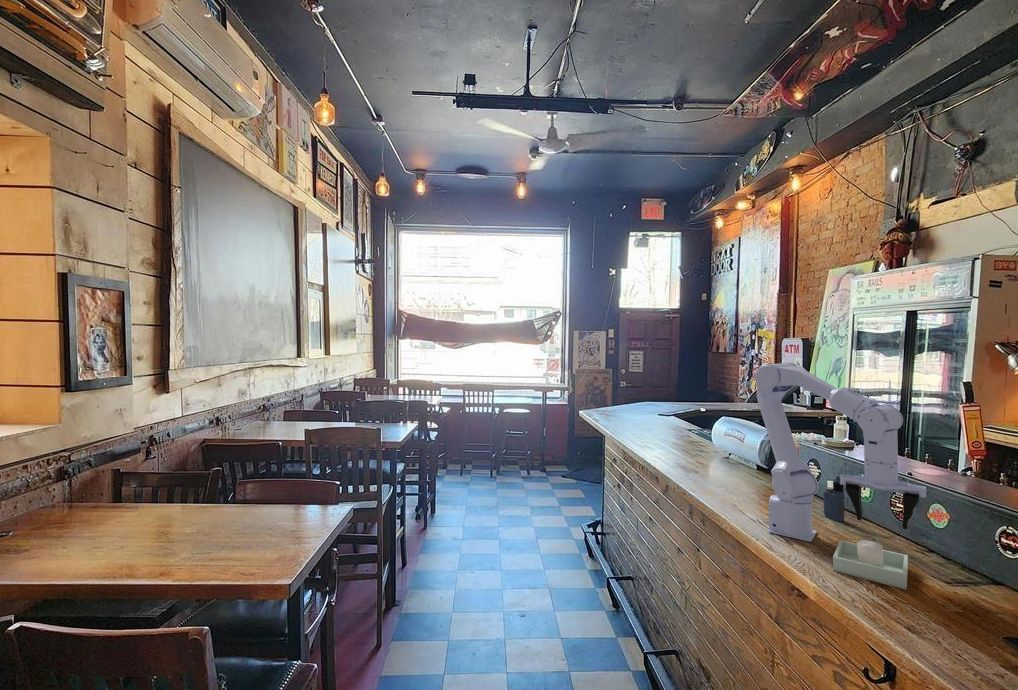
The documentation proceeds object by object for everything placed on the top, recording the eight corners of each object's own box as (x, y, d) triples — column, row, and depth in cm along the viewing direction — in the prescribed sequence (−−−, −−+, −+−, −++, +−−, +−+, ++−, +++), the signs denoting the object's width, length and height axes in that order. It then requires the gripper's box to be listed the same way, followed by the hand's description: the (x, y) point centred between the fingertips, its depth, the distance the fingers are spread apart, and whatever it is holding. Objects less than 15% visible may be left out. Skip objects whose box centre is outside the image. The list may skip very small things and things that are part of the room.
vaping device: (839, 522, 125) (838, 478, 125) (821, 515, 130) (821, 473, 130) (846, 521, 126) (846, 477, 126) (828, 514, 131) (828, 472, 131)
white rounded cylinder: (856, 568, 99) (855, 545, 99) (859, 560, 102) (858, 538, 102) (882, 575, 96) (881, 551, 96) (884, 567, 99) (883, 544, 99)
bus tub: (833, 570, 99) (832, 556, 99) (840, 552, 107) (839, 540, 107) (906, 589, 91) (906, 574, 91) (908, 569, 99) (907, 555, 99)
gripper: (837, 459, 102) (838, 520, 102) (925, 470, 92) (926, 538, 92) (842, 453, 108) (843, 511, 108) (925, 463, 98) (926, 527, 98)
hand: (881, 523), depth 100 cm, fingers open, 7 cm apart
